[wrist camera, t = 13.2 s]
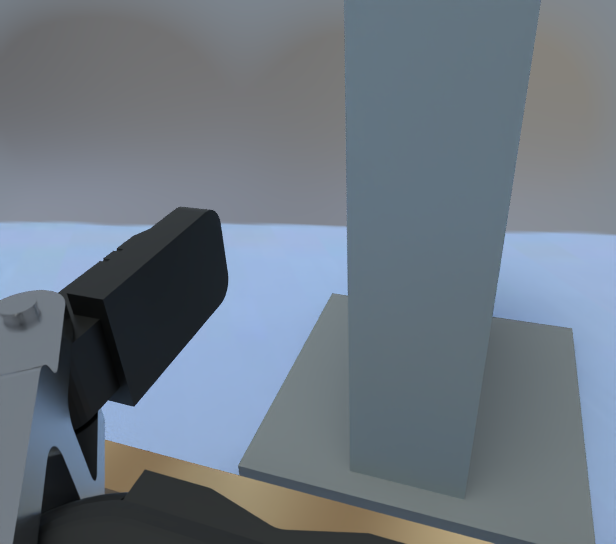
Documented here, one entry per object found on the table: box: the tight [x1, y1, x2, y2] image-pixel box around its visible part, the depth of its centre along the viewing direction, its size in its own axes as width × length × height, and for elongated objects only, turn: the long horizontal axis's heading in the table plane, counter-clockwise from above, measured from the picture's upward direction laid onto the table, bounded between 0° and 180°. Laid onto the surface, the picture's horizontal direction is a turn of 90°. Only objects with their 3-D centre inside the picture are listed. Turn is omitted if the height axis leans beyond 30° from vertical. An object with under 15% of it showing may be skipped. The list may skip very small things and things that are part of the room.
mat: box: [238, 293, 595, 544], centre depth 23 cm, size 12×12×1 cm
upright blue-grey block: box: [344, 0, 541, 500], centre depth 18 cm, size 4×10×18 cm, turn 161°
